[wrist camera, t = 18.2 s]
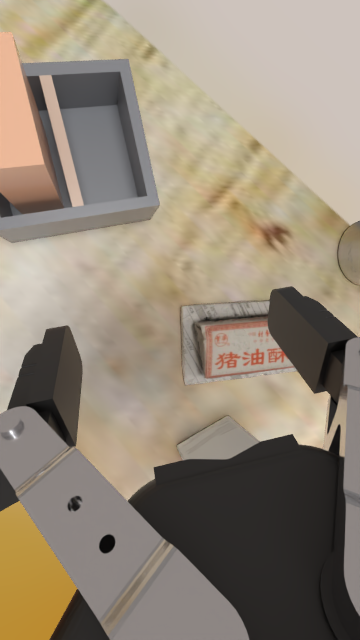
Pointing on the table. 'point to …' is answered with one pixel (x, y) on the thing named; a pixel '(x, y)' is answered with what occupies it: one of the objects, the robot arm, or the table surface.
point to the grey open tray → (88, 150)
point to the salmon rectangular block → (23, 140)
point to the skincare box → (217, 441)
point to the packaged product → (229, 342)
